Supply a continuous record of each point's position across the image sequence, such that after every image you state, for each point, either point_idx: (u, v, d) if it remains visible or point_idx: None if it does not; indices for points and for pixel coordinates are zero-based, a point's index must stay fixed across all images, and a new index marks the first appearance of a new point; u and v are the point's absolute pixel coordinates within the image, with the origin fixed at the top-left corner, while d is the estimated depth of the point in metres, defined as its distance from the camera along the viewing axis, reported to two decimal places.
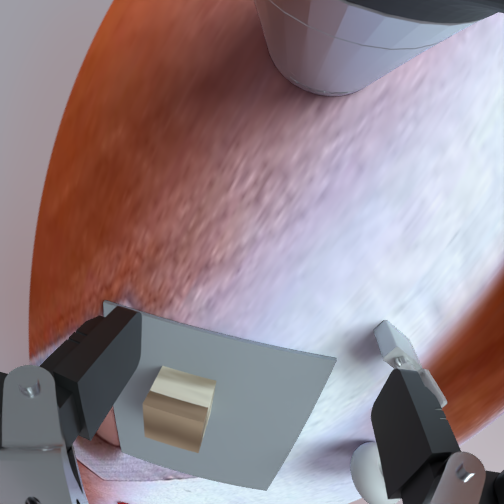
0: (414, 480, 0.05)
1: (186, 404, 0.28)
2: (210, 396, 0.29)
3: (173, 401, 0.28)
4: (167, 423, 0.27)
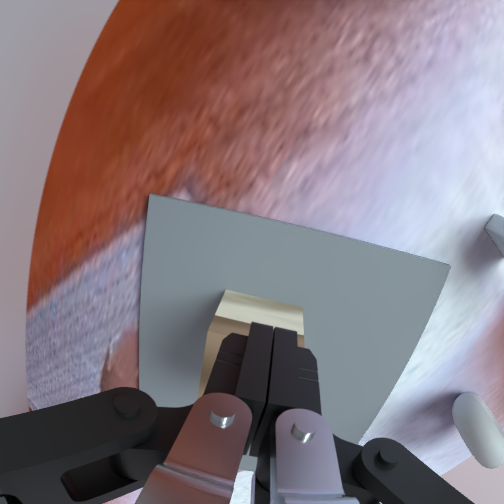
0: (264, 435, 0.07)
1: None
2: (301, 323, 0.22)
3: None
4: None
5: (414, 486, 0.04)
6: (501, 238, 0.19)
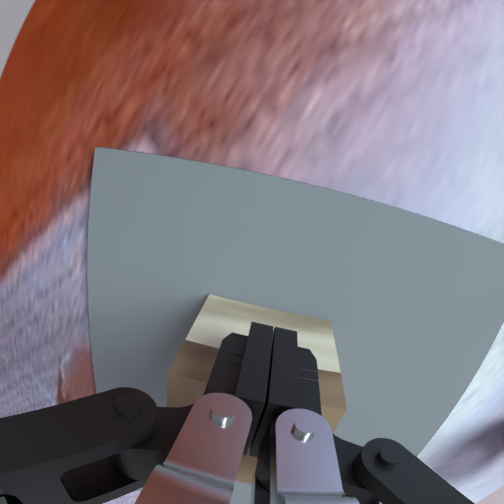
0: (264, 435, 0.07)
1: None
2: (333, 349, 0.13)
3: None
4: None
5: (414, 486, 0.04)
6: None
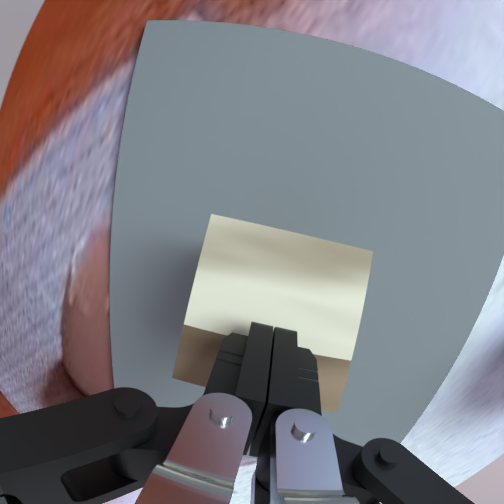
0: (264, 435, 0.07)
1: None
2: (357, 317, 0.11)
3: None
4: None
5: (414, 486, 0.04)
6: None
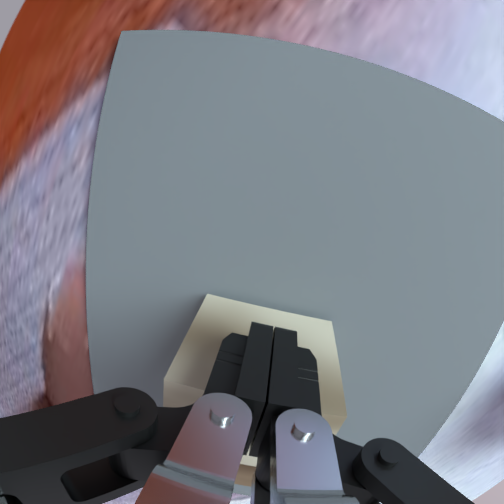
0: (264, 435, 0.07)
1: None
2: None
3: None
4: None
5: (414, 486, 0.04)
6: None
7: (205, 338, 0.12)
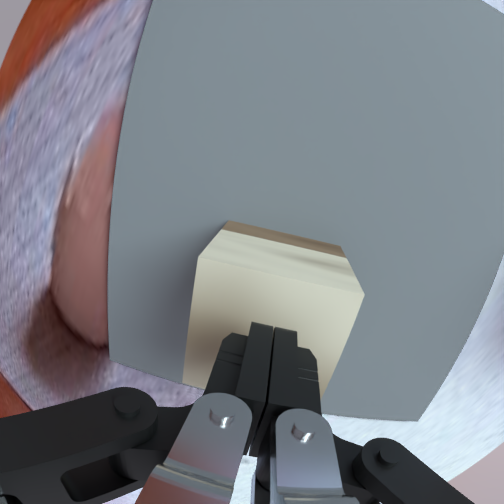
0: (264, 435, 0.07)
1: None
2: None
3: None
4: None
5: (414, 486, 0.04)
6: None
7: (205, 340, 0.12)
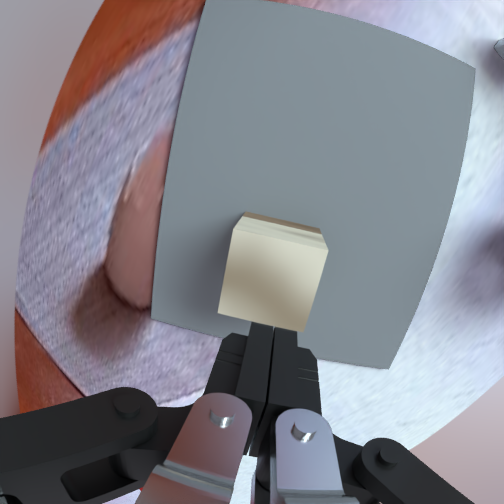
0: (264, 435, 0.07)
1: None
2: None
3: None
4: None
5: (414, 486, 0.04)
6: None
7: (235, 280, 0.21)
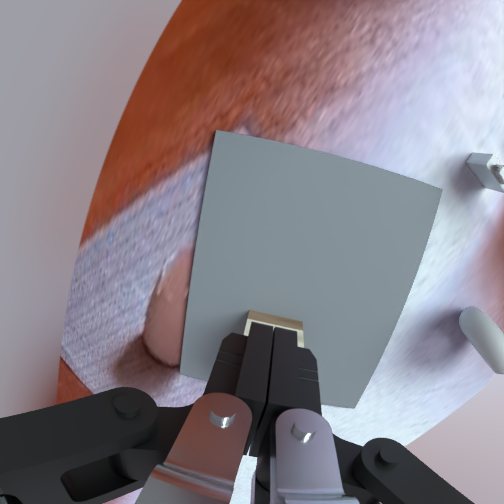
0: (264, 435, 0.07)
1: None
2: None
3: None
4: None
5: (414, 486, 0.04)
6: (478, 166, 0.26)
7: None
